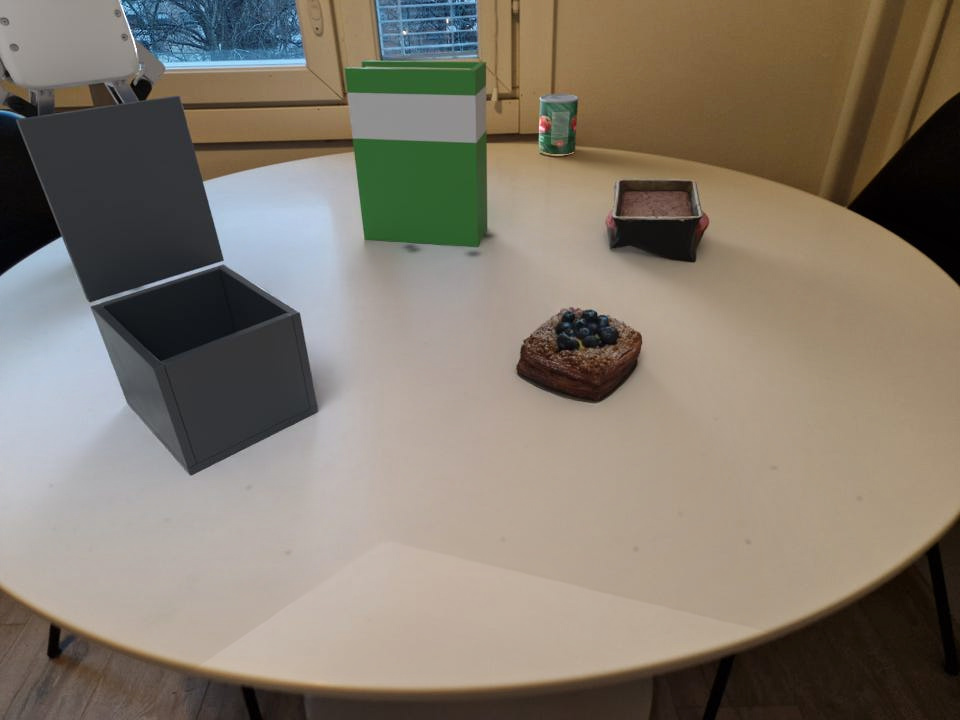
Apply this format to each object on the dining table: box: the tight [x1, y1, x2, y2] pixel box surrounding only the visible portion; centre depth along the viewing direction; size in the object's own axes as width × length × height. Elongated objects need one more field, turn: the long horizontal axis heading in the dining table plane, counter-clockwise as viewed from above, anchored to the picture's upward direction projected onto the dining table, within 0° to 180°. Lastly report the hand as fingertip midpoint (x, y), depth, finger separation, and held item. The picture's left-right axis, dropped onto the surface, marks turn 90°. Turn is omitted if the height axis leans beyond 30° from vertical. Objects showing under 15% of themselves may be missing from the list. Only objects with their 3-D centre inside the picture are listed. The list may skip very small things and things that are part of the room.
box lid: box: [15, 95, 225, 303], centre depth 59 cm, size 15×13×6 cm
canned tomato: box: [538, 93, 579, 154], centre depth 136 cm, size 8×8×11 cm
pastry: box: [515, 306, 643, 404], centre depth 66 cm, size 11×12×6 cm
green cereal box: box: [343, 59, 488, 248], centre depth 94 cm, size 18×7×24 cm, turn 79°
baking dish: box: [604, 177, 710, 263], centre depth 94 cm, size 14×18×10 cm
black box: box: [90, 263, 319, 476], centre depth 60 cm, size 15×13×11 cm
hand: (104, 162), depth 59 cm, fingers closed on box lid, 5 cm apart
